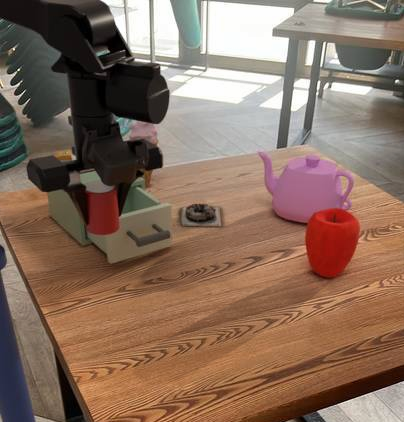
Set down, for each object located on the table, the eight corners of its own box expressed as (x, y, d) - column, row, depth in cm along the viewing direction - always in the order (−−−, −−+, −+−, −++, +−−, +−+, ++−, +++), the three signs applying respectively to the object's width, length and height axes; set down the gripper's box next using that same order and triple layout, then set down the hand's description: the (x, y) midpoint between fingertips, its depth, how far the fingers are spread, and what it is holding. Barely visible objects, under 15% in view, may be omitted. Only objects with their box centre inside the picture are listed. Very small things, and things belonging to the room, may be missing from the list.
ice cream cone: (163, 191, 124) (162, 119, 115) (136, 194, 122) (132, 122, 113) (154, 179, 129) (152, 109, 119) (127, 183, 127) (123, 112, 118)
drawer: (186, 256, 100) (186, 214, 95) (124, 276, 95) (120, 233, 90) (135, 217, 112) (133, 178, 107) (76, 233, 106) (71, 193, 101)
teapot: (352, 207, 120) (363, 150, 112) (344, 235, 110) (356, 175, 102) (259, 193, 124) (264, 138, 117) (243, 219, 114) (248, 160, 107)
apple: (306, 255, 103) (315, 198, 96) (355, 264, 101) (367, 207, 94) (294, 278, 97) (303, 219, 90) (345, 289, 95) (358, 229, 88)
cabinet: (147, 228, 110) (145, 179, 104) (82, 246, 104) (76, 195, 98) (111, 201, 120) (108, 155, 113) (50, 216, 113) (43, 168, 107)
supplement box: (60, 198, 120) (53, 150, 114) (77, 196, 121) (71, 149, 115) (62, 205, 118) (55, 156, 111) (79, 203, 118) (73, 154, 112)
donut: (181, 207, 118) (181, 198, 116) (219, 208, 118) (219, 198, 117) (181, 226, 111) (181, 216, 110) (221, 226, 111) (221, 216, 110)
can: (95, 238, 84) (91, 196, 80) (80, 225, 87) (76, 183, 83) (125, 230, 86) (122, 189, 82) (110, 217, 90) (107, 177, 85)
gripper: (49, 141, 67) (65, 258, 77) (183, 117, 75) (183, 226, 85) (16, 115, 74) (35, 226, 84) (142, 96, 82) (146, 199, 92)
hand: (102, 220), depth 86 cm, fingers closed on can, 5 cm apart
